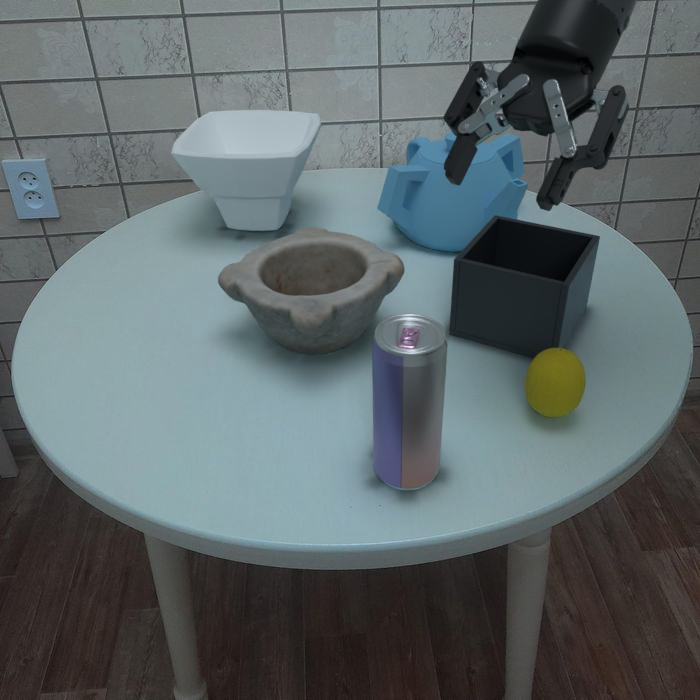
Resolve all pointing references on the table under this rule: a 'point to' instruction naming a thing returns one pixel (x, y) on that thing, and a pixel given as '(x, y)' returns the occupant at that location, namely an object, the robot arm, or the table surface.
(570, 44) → the robot arm
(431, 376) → the beverage can
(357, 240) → the mortar
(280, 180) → the bowl
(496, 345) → the open box
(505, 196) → the teapot
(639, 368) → the table surface
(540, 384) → the lemon
